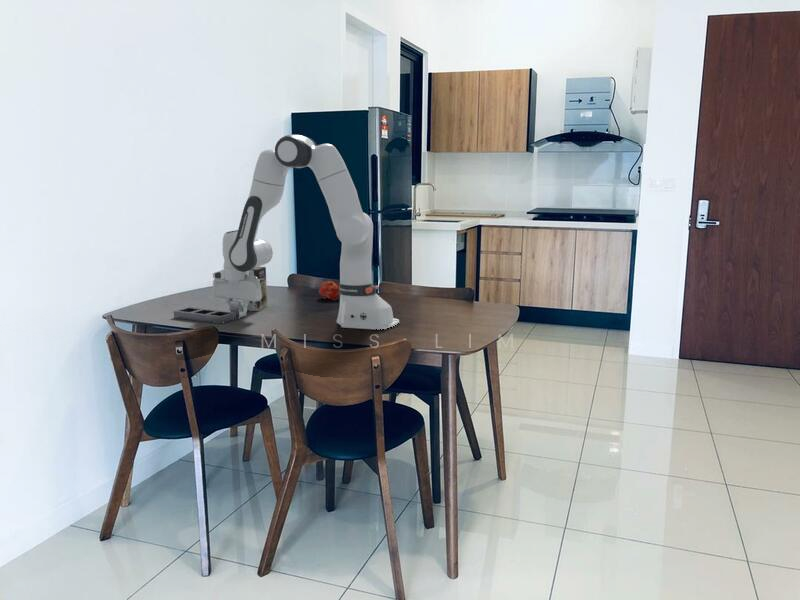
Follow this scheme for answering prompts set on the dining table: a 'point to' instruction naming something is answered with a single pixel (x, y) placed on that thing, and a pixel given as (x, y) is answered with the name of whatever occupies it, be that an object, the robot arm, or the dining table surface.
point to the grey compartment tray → (204, 315)
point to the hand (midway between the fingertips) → (238, 310)
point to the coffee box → (261, 274)
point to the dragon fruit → (329, 290)
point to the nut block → (237, 307)
